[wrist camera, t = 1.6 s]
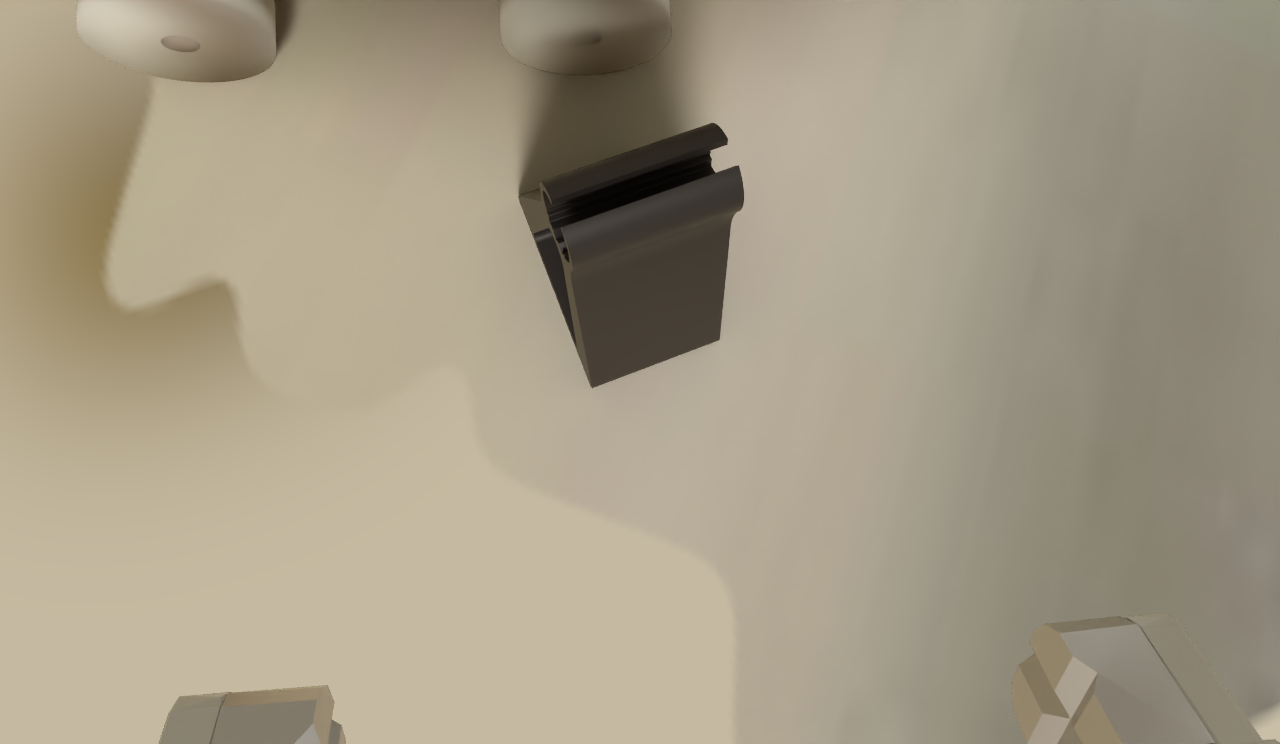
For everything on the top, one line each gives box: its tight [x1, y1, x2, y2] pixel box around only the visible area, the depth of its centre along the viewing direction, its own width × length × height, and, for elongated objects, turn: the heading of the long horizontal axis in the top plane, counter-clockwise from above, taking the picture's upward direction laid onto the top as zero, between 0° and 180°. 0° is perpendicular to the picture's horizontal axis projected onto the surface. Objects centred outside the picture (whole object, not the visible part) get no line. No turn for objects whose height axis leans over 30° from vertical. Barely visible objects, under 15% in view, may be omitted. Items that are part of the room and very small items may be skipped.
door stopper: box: [518, 123, 744, 388], centre depth 35 cm, size 9×6×12 cm, turn 21°
